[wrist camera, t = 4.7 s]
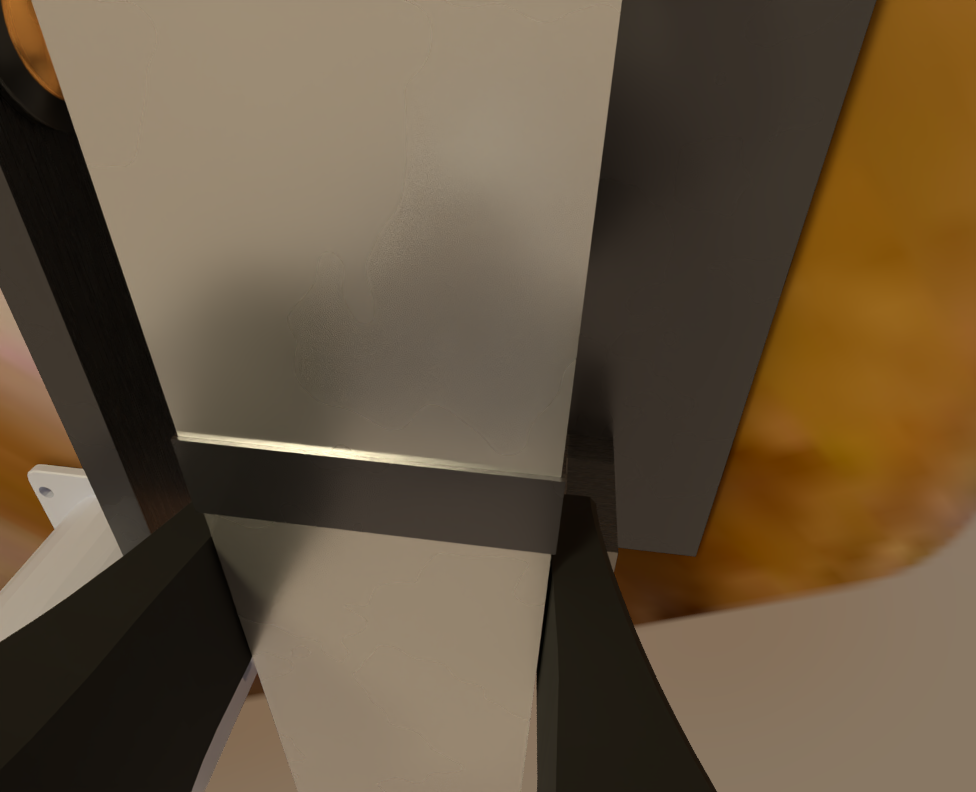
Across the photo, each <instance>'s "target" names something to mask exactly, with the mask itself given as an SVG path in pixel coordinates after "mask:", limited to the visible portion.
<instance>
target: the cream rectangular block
mask: <svg viewBox="0 0 976 792" xmlns="http://www.w3.org/2000/svg"><path fill="white" fill-rule="evenodd" d="M31 1H32V4H33V7H34V10H35V13H36V16H37V19H38V22H39V25H40V28H41V31H42V34H43V37H44V40H45V43H46V46H47V49H48V52H49V54H50V57H51V60H52V63H53V66H54V69H55V72H56V75H57V78H58V81H59V84H60V87H61V90H62V93H63V96H64V99H65V102H66V105H67V108H68V111H69V114H70V117H71V120H72V123H73V126H74V129H75V132H76V135H77V138H78V141H79V144H80V147H81V150H82V152H83V155H84V158H85V161H86V164H87V167H88V170H89V173H90V176H91V179H92V182H93V185H94V188H95V191H96V194H97V197H98V200H99V203H100V206H101V209H102V212H103V215H104V218H105V221H106V224H107V227H108V230H109V233H110V236H111V239H112V242H113V245H114V248H115V250H116V253H117V256H118V259H119V262H120V265H121V268H122V271H123V274H124V277H125V280H126V283H127V286H128V289H129V292H130V295H131V298H132V301H133V304H134V307H135V310H136V313H137V316H138V319H139V322H140V325H141V328H142V331H143V334H144V337H145V340H146V343H147V346H148V348H149V351H150V354H151V357H152V360H153V363H154V366H155V369H156V372H157V375H158V378H159V381H160V384H161V387H162V390H163V393H164V396H165V399H166V402H167V405H168V408H169V411H170V414H171V417H172V420H173V423H174V426H175V429H176V433H175V435H174V436H173V437H172V438H171V442H172V445H173V447H174V450H175V453H176V456H177V459H178V462H179V465H180V468H181V471H182V473H183V476H184V479H185V482H186V485H187V488H188V491H189V494H190V496H191V499H192V502H193V505H194V508H195V511H196V512H197V513H204V515H205V518H206V521H207V524H208V527H209V530H210V533H211V536H212V539H213V541H214V544H215V547H216V550H217V553H218V556H219V559H220V562H221V565H222V568H223V571H224V574H225V577H226V580H227V583H228V586H229V589H230V592H231V595H232V598H233V601H234V604H235V607H236V610H237V613H238V616H239V619H240V622H241V625H242V628H243V631H244V634H245V637H246V639H247V642H248V645H249V648H250V651H251V654H252V657H253V660H254V663H255V666H256V669H257V672H258V675H259V678H260V681H261V684H262V687H263V690H264V693H265V696H266V699H267V702H268V704H269V707H270V711H271V714H272V717H273V720H274V722H275V726H276V729H277V732H278V734H279V737H280V740H281V743H282V746H283V749H284V752H285V755H286V758H287V761H288V764H289V767H290V770H291V773H292V776H293V779H294V782H295V785H296V788H297V791H298V792H521V787H522V780H523V772H524V764H525V756H526V747H527V741H528V733H529V725H530V717H531V709H532V701H533V693H534V686H535V678H536V670H537V662H538V654H539V647H540V639H541V631H542V623H543V615H544V607H545V600H546V592H547V584H548V576H549V568H550V560H551V554H552V555H556V549H557V542H558V534H559V527H560V519H561V512H562V505H563V497H564V490H565V482H566V461H567V441H568V420H569V412H570V404H571V396H572V388H573V380H574V372H575V365H576V357H577V349H578V341H579V333H580V325H581V318H582V310H583V302H584V294H585V286H586V278H587V271H588V263H589V255H590V247H591V239H592V231H593V224H594V216H595V208H596V200H597V192H598V185H599V177H600V169H601V161H602V153H603V145H604V138H605V130H606V122H607V114H608V106H609V98H610V91H611V83H612V75H613V67H614V59H615V51H616V44H617V36H618V28H619V20H620V12H621V4H622V0H31Z"/></svg>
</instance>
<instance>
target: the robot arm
mask: <svg viewBox="0 0 976 792" xmlns="http://www.w3.org/2000/svg"><path fill="white" fill-rule="evenodd" d="M27 476H28V479H29V482H30V484H31V486H32V487H33V489H34V491H35V493H36V495H37V497H38V499H39V501H40V502H41V504H42V506H43V508H44V510H45V512H46V514H47V516H48V517H49V519H50V521H51V523H52V525H53V527H54V529H55V530H54V531H53V532H52V533H51V534H50V535H49V536H48V538H47V539H46V540H45V541H44V542H43V543H42V544H41V546H40V547H39V548H38V549H37V550H36V551H35V552H34V553H33V555H32V556H31V557H30V558H29V559H28V560H27V561H26V563H25V564H24V565H23V566H22V567H21V568H20V569H19V571H18V572H17V573H16V574H15V575H14V576H13V577H12V579H11V580H10V581H9V582H8V583H7V584H6V585H5V586H4V588H3V589H2V590H1V591H0V792H204V791H205V789H206V787H207V785H208V783H209V780H210V778H211V776H212V774H213V771H214V769H215V767H216V765H217V762H218V760H219V758H220V756H221V753H222V751H223V749H224V747H225V744H226V742H227V740H228V738H229V735H230V733H231V731H232V729H233V726H234V724H235V722H236V720H237V717H238V715H239V713H240V711H241V708H242V706H243V704H244V702H245V699H246V697H247V695H248V692H249V690H250V688H251V686H252V683H253V681H254V679H255V677H256V674H257V669H256V666H255V663H254V660H253V657H252V654H251V651H250V648H249V645H248V642H247V639H246V637H245V634H244V631H243V628H242V625H241V622H240V619H239V616H238V613H237V610H236V607H235V604H234V601H233V598H232V595H231V592H230V589H229V586H228V583H227V580H226V577H225V574H224V571H223V568H222V565H221V562H220V559H219V556H218V553H217V550H216V547H215V544H214V541H213V539H212V536H211V533H210V530H209V527H208V524H207V521H206V518H205V515H204V513H197V512H196V511H195V508H194V505H193V502H192V501H191V502H190V503H189V504H188V505H186V506H185V507H184V508H183V509H182V510H180V511H179V512H178V513H177V514H176V515H174V516H173V517H172V518H171V519H169V520H168V521H167V522H166V523H164V524H163V525H162V526H161V527H159V528H158V529H157V530H156V531H154V532H153V533H152V534H151V535H149V536H148V537H147V538H146V539H144V540H143V541H142V542H141V543H139V544H138V545H137V546H136V547H134V548H133V549H132V550H131V551H129V552H128V553H127V554H125V555H124V556H123V554H122V552H121V550H120V548H119V546H118V544H117V541H116V539H115V537H114V535H113V533H112V530H111V528H110V526H109V524H108V522H107V520H106V517H105V515H104V513H103V511H102V509H101V506H100V504H99V502H98V500H97V498H96V495H95V493H94V491H93V489H92V487H91V485H90V482H89V480H88V478H87V476H86V474H85V471H84V469H80V468H71V467H62V466H53V465H44V464H39V465H36V466H34V467H33V468H32V469H31V470H30V471H29V472H28V475H27ZM536 672H537V769H538V770H537V771H538V773H537V774H538V780H537V792H717V791H716V789H715V788H714V786H713V784H712V782H711V781H710V779H709V777H708V775H707V773H706V772H705V770H704V768H703V766H702V765H701V763H700V761H699V759H698V758H697V756H696V754H695V752H694V750H693V749H692V747H691V745H690V743H689V741H688V739H687V737H686V735H685V733H684V732H683V730H682V728H681V726H680V724H679V722H678V720H677V718H676V716H675V714H674V712H673V710H672V709H671V707H670V705H669V703H668V701H667V698H666V696H665V694H664V692H663V690H662V689H661V686H660V684H659V682H658V680H657V678H656V675H655V673H654V671H653V669H652V667H651V664H650V662H649V660H648V658H647V656H646V653H645V651H644V649H643V647H642V644H641V642H640V640H639V637H638V635H637V633H636V630H635V628H634V625H633V623H632V620H631V618H630V615H629V612H628V610H627V607H626V605H625V602H624V599H623V597H622V594H621V592H620V589H619V586H618V583H617V581H616V578H615V575H614V572H613V569H612V566H611V563H610V559H609V556H608V553H607V550H606V546H605V543H604V539H603V536H602V532H601V528H600V523H599V519H598V514H597V508H596V503H595V502H594V501H593V500H592V499H591V497H587V496H578V495H569V494H564V497H563V505H562V512H561V519H560V527H559V534H558V542H557V549H556V555H552V554H551V560H550V568H549V576H548V584H547V592H546V600H545V607H544V615H543V623H542V631H541V639H540V647H539V654H538V662H537V670H536Z"/></svg>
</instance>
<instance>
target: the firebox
mask: <svg viewBox="0 0 976 792" xmlns="http://www.w3.org/2000/svg"><path fill="white" fill-rule="evenodd" d="M875 3H876V0H622V4H621V12H620V20H619V28H618V36H617V44H616V51H615V59H614V67H613V75H612V83H611V91H610V98H609V106H608V114H607V122H606V130H605V138H604V145H603V153H602V161H601V169H600V177H599V185H598V192H597V200H596V208H595V216H594V224H593V231H592V239H591V247H590V255H589V263H588V271H587V278H586V286H585V294H584V302H583V310H582V318H581V325H580V333H579V341H578V349H577V357H576V365H575V372H574V380H573V388H572V396H571V404H570V412H569V420H568V441H567V461H566V482H565V490H564V494H569V495H578V496H587V497H591V499H592V500H593V501H594V502H595V503H596V508H597V514H598V519H599V523H600V528H601V532H602V536H603V539H604V543H605V546H606V550H607V553H608V556H609V559H610V563H611V566H612V569H613V572H614V569H615V565H616V560H617V556H618V548H626V549H635V550H644V551H652V552H661V553H670V554H678V555H687V556H696V554H697V551H698V548H699V545H700V541H701V538H702V535H703V532H704V529H705V526H706V523H707V520H708V517H709V514H710V511H711V508H712V505H713V501H714V498H715V495H716V492H717V489H718V486H719V483H720V480H721V477H722V474H723V471H724V468H725V465H726V461H727V458H728V455H729V452H730V449H731V446H732V443H733V440H734V437H735V434H736V431H737V428H738V425H739V421H740V418H741V415H742V412H743V409H744V406H745V403H746V400H747V397H748V394H749V391H750V388H751V385H752V381H753V378H754V375H755V372H756V369H757V366H758V363H759V360H760V357H761V354H762V351H763V348H764V345H765V341H766V338H767V335H768V332H769V329H770V326H771V323H772V320H773V317H774V314H775V311H776V308H777V305H778V301H779V298H780V295H781V292H782V289H783V286H784V283H785V280H786V277H787V274H788V271H789V268H790V265H791V261H792V258H793V255H794V252H795V249H796V246H797V243H798V240H799V237H800V234H801V231H802V228H803V225H804V221H805V218H806V215H807V212H808V209H809V206H810V203H811V200H812V197H813V194H814V191H815V188H816V185H817V181H818V178H819V175H820V172H821V169H822V166H823V163H824V160H825V157H826V154H827V151H828V148H829V145H830V141H831V138H832V135H833V132H834V129H835V126H836V123H837V120H838V117H839V114H840V111H841V108H842V105H843V101H844V98H845V95H846V92H847V89H848V86H849V83H850V80H851V77H852V74H853V71H854V68H855V65H856V61H857V58H858V55H859V52H860V49H861V46H862V43H863V40H864V37H865V34H866V31H867V28H868V25H869V21H870V18H871V15H872V12H873V9H874V6H875ZM0 288H1V290H2V292H3V295H4V297H5V299H6V301H7V303H8V306H9V308H10V310H11V312H12V314H13V316H14V319H15V321H16V323H17V325H18V327H19V330H20V332H21V334H22V336H23V338H24V340H25V343H26V345H27V347H28V349H29V351H30V354H31V356H32V358H33V360H34V362H35V365H36V367H37V369H38V371H39V373H40V375H41V378H42V380H43V382H44V384H45V386H46V389H47V391H48V393H49V395H50V397H51V399H52V402H53V404H54V406H55V408H56V410H57V413H58V415H59V417H60V419H61V421H62V423H63V426H64V428H65V430H66V432H67V434H68V437H69V439H70V441H71V443H72V445H73V447H74V450H75V452H76V454H77V456H78V458H79V461H80V463H81V465H82V467H83V469H84V471H85V474H86V476H87V478H88V480H89V482H90V485H91V487H92V489H93V491H94V493H95V495H96V498H97V500H98V502H99V504H100V506H101V509H102V511H103V513H104V515H105V517H106V520H107V522H108V524H109V526H110V528H111V530H112V533H113V535H114V537H115V539H116V541H117V544H118V546H119V548H120V550H121V552H122V554H123V556H124V555H125V554H127V553H128V552H129V551H131V550H132V549H133V548H134V547H136V546H137V545H138V544H139V543H141V542H142V541H143V540H144V539H146V538H147V537H148V536H149V535H151V534H152V533H153V532H154V531H156V530H157V529H158V528H159V527H161V526H162V525H163V524H164V523H166V522H167V521H168V520H169V519H171V518H172V517H173V516H174V515H176V514H177V513H178V512H179V511H180V510H182V509H183V508H184V507H185V506H186V505H188V504H189V503H190V502H191V501H192V499H191V496H190V494H189V491H188V488H187V485H186V482H185V479H184V476H183V473H182V471H181V468H180V465H179V462H178V459H177V456H176V453H175V450H174V447H173V445H172V442H171V438H172V437H173V436H174V435H175V433H176V429H175V426H174V423H173V420H172V417H171V414H170V411H169V408H168V405H167V402H166V399H165V396H164V393H163V390H162V387H161V384H160V381H159V378H158V375H157V372H156V369H155V366H154V363H153V360H152V357H151V354H150V351H149V348H148V346H147V343H146V340H145V337H144V334H143V331H142V328H141V325H140V322H139V319H138V316H137V313H136V310H135V307H134V304H133V301H132V298H131V295H130V292H129V289H128V286H127V283H126V280H125V277H124V274H123V271H122V268H121V265H120V262H119V259H118V256H117V253H116V250H115V248H114V245H113V242H112V239H111V236H110V233H109V230H108V227H107V224H106V221H105V218H104V215H103V212H102V209H101V206H100V203H99V200H98V197H97V194H96V191H95V188H94V185H93V182H92V179H91V176H90V173H89V170H88V167H87V164H86V161H85V158H84V155H83V152H82V150H81V147H80V144H79V141H78V138H77V135H76V132H75V129H74V126H73V123H72V120H71V117H70V114H69V111H68V108H67V105H66V102H65V99H64V96H63V93H62V90H61V87H60V84H59V81H58V78H57V75H56V72H55V69H54V66H53V63H52V60H51V57H50V54H49V52H48V49H47V46H46V43H45V40H44V37H43V34H42V31H41V28H40V25H39V22H38V19H37V16H36V13H35V10H34V7H33V4H32V1H31V0H0Z"/></svg>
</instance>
